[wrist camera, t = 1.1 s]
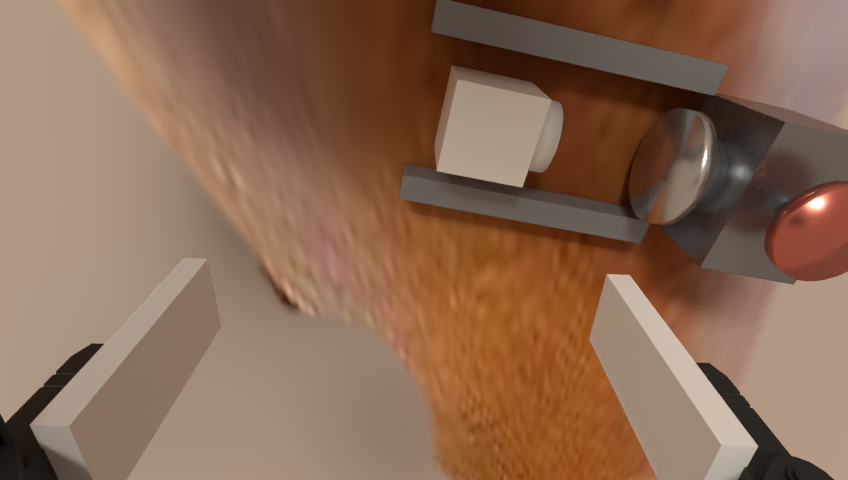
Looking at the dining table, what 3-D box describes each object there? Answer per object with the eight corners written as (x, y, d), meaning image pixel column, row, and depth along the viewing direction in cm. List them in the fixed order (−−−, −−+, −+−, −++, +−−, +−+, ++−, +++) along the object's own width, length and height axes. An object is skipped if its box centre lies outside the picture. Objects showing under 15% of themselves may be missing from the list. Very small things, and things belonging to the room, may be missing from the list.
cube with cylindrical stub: (451, 64, 33) (457, 79, 28) (550, 86, 34) (574, 104, 29) (434, 143, 36) (436, 171, 31) (525, 162, 37) (543, 191, 32)
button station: (664, 81, 34) (778, 127, 23) (786, 109, 35) (951, 166, 24) (610, 203, 39) (684, 289, 28) (719, 224, 40) (831, 315, 29)
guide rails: (436, -4, 31) (437, -3, 29) (708, 60, 33) (729, 65, 31) (400, 186, 38) (398, 198, 36) (628, 229, 40) (640, 243, 38)
